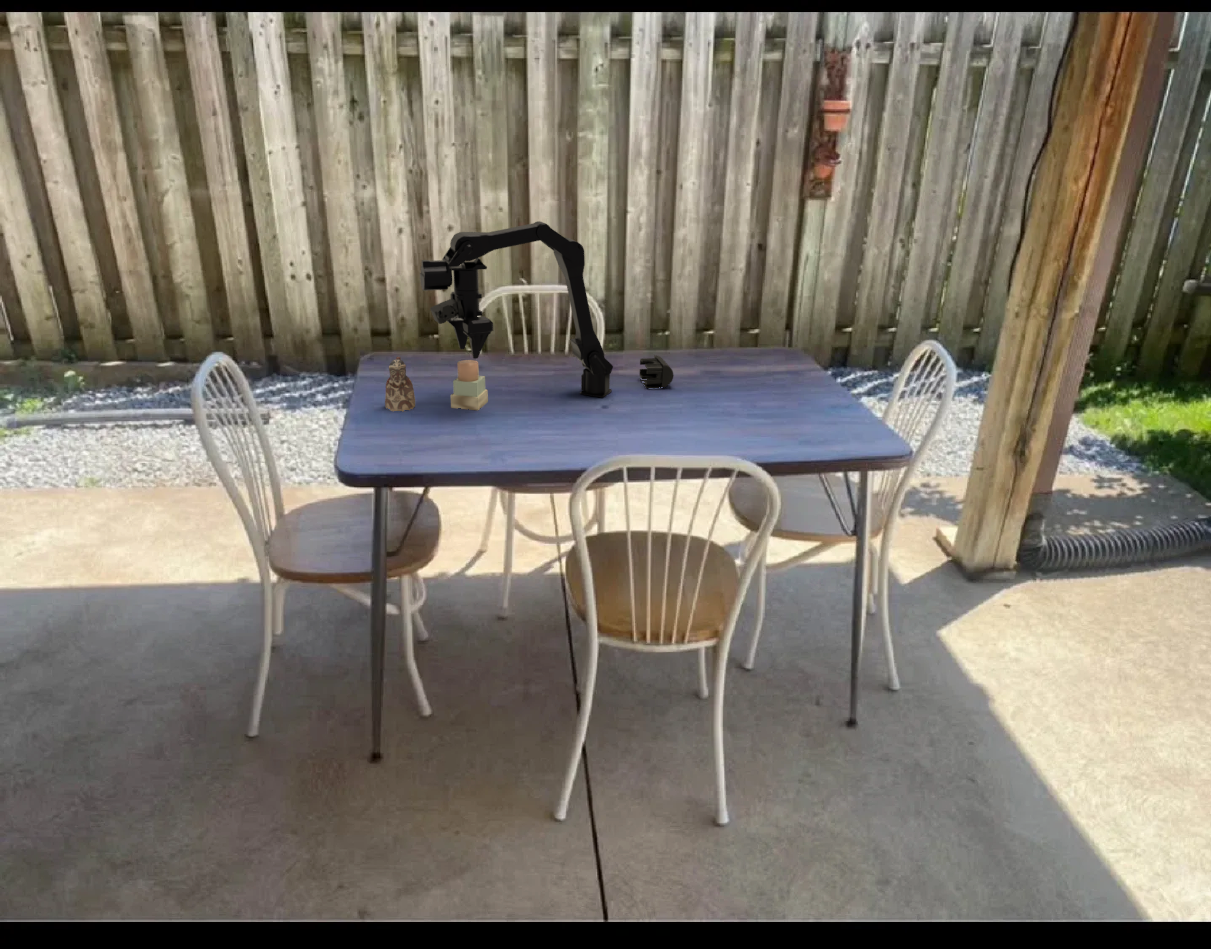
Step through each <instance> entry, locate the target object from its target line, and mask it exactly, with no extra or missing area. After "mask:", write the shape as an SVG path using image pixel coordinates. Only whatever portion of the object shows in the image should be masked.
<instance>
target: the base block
mask: <svg viewBox="0 0 1211 949" xmlns="http://www.w3.org/2000/svg"><path fill="white" fill-rule="evenodd" d="M488 394H489V391H488V389H486V388H485V391H484V392H482V393H481V394H480V395H479V396H478V397H472V396H460V395H454V392H453V393H451V394H450V408H451V409H458V408H461V409H460V410H468V409H469V410H470V411H479V410H481V409H482V408H483V407H484V406H486V404H487V403H488V402H489V395H488ZM480 408H481V409H480ZM469 410H468V411H469Z"/></svg>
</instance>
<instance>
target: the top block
mask: <svg viewBox="0 0 1211 949" xmlns="http://www.w3.org/2000/svg"><path fill="white" fill-rule="evenodd" d="M452 385H453V387H452V388H453V393H454V395H460V396H472V397H478V396H479V395H480V394H481V393H482V392H484V391H485V389H486V376H484V375H479V379H478V380H476V381H472V382H464V381H460V380H458V377H456V378H455V379H454V380H453V381H452Z"/></svg>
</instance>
